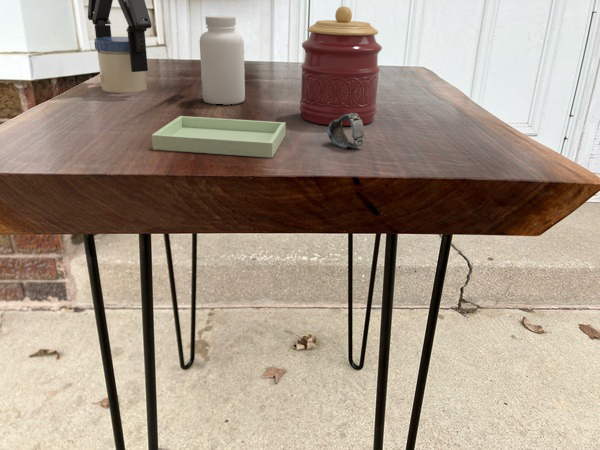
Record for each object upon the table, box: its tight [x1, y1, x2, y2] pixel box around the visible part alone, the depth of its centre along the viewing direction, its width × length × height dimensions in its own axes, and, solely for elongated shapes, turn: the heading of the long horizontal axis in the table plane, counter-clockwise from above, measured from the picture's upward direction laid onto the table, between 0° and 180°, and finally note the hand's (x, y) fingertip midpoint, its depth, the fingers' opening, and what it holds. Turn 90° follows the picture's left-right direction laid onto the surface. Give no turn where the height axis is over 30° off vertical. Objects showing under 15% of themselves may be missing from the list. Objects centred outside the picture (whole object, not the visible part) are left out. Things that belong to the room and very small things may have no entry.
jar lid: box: [93, 36, 130, 52], centre depth 95 cm, size 9×9×2 cm
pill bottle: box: [199, 14, 246, 106], centre depth 96 cm, size 8×8×15 cm
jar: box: [97, 50, 148, 94], centre depth 97 cm, size 8×8×10 cm
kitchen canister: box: [299, 5, 383, 127], centre depth 86 cm, size 13×13×18 cm
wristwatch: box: [326, 113, 365, 149], centre depth 73 cm, size 3×5×5 cm
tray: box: [151, 115, 287, 159], centre depth 74 cm, size 16×11×2 cm
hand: (122, 66), depth 96 cm, fingers open, 13 cm apart
